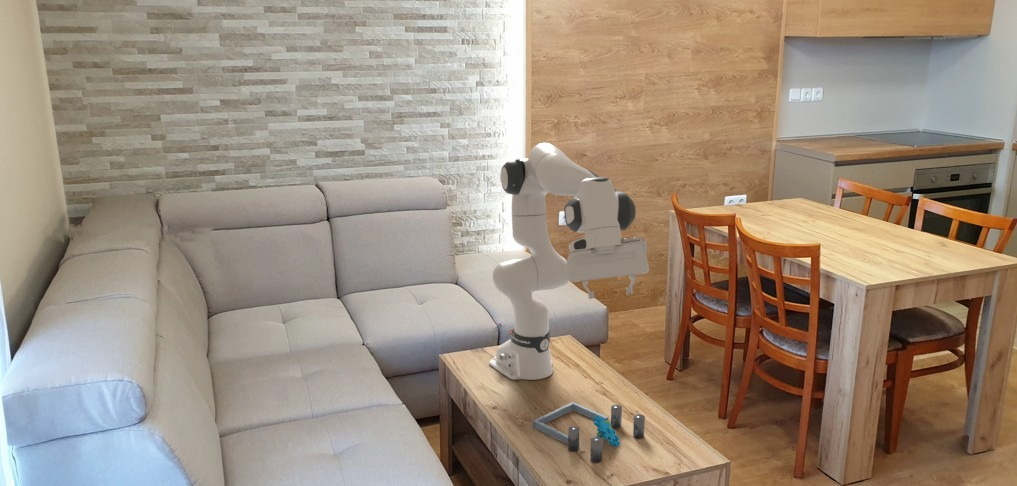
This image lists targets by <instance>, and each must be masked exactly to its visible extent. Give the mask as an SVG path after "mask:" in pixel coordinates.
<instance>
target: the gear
mask: <svg viewBox="0 0 1017 486" xmlns="http://www.w3.org/2000/svg"><path fill="white" fill-rule="evenodd" d="M592 420H593V421H594V422H593V425H594V426H595V427H597V428H596V430H597V433H596V437H601V438H602V439H603V440H605V441H606V440H608V441H607V442H608V444H609V445H610V446H613V447H614V448H617V447H619V446H620V445H621V442H620V437H619V436H618V435H616V434H617V432H616V430H615V429H614V428H612V427H611V421H609V419H608V420H607V421H606V422H605V419H604V418H603V417H602V418H600V416H598V415H597V416H596V417H594V418H593V419H592Z"/></svg>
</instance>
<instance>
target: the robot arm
mask: <svg viewBox="0 0 1017 486" xmlns="http://www.w3.org/2000/svg"><path fill="white" fill-rule="evenodd" d="M500 184H501V187H502V189H503V191H504V192H505V193H506V194H508V195H512V196H511V224H512V238H513V239H514V241H515V243H517V244H518V245H519V246H522V247H524V248H527V249H529V251H530V256H529V257H523V258H520V257H519V258H512V259H508V260H505V261H501V262H499V263H497V264H496V265H495V267H494V268H493V271H492V282H493V285H494V287H495V289H496V290H497V291H498V292H499V293H501V294H503V295H504V296H505V297H506V298H507V299H508V300H509V302H510V303H511V306H512V309H513V318H514V328H513V329H511V330H509V331H508V332H509V333H508V334H509V335H511V337H510V339H508V340H507V341H505V342H503V343H502V344H500V345H499V347H497V350H496V356H494V357H493V358H491V359H490V360H489V363H488V365H489V366H490V367H492V368H493V369H495V370H497V371H498V372H499V373H501V374H502V375H504V376H505V377H506V378H508V379H509V380H514V381H515V380H529V381H530V380H531V381H532V380H534V381H535V380H536V381H537V380H542V379H545V378H547V377H550V376H551V375H552V374H553V373H554V369H553V360H552V356H551V354H552V353H551V347H550V346H551V345H550V341H551V332H550V330H549V327H550V324H549V321H550V319H549V318H550V312H549V309H548V307H547V305H546V304H545V303H544V302H542V301H540V300H537V299H536V298H533V293H535V292H540V291H548V290H549V291H550V290H555V289H558V288H561V287H565V286H566V285H567V284H568V283H569V282H570V283H576V282H581V285H582V287H583V288H584V289H585V291H586V292H587V296H588V299H589V300H591V299H595V292H594V290H592V291H591V290H590V289H589V287H588V285H589V281H593V280H600V279H601V280H602V279H609V278H611V279H612V278H617V277H626V276H628V277H629V280H630V281H631V282H630V284H629V286H626V287H625V289H626V295H633V294H634V289H633V286H634V285H635V282H636V279H637V278H636V277H637V276H636V275H643V274H647V273H648V272H649V271H650V265H649V261H648V257H647V253H648V243H647V241H646V240H645V238H643V237H641V236H634V237H625V238H622V231H626V230H627V229H628V228H629V227H630V226H631V225H632V224H633V222H634V221H635V219H636V215H637V214H636V212H637V211H636V206H635V205H636V204H635V202H634V201H633V200H632V198H631V197H630V196H629V195H628V194H627V193H626V192H625V191H619V190H617V189H615V187H614V185H613V182H612V179H611V178H609V177H605V176H604V177H603V176H599V175H598V174H596V173H595V172H593V171H591V170H589V169H586V168H585V167H583V166H581V165H579V164H578V163H575V162H574V161H573V160H572V159H570V158H569V157H568V156H567V155H566V154H565V153H564V152H563V150H561V149H559V148H558V147H557V146H555V145H553V144H551V143H548V142H542V143H538V144H537V145H535V146H533V148H531V150H530V152H529V154H528V158H522V159H520V158H517V159H513V160H509V161H507V162H505V163H504V164H503V166H502V167H501V170H500ZM548 193H549V194H552V195H553V196H566V197H567V196H570V197H571V196H573V197H571V198H569V200H568V201H567V202H566V204H565V205H564V208H563V210H564V211H563V212H564V213H563V214H564V221H565V225H566V226H567V227H568V229H570V230H571V231H572V232H574V233H579V234H580V233H581V234H582V233H584V236H583V237H579V238H578V239H576V240H574V241H572V242H570V243H569V244H568V250H569V251H570V253H569V254H568V256H567V259H566V258H565V257H563V256H562V255H561V254H559V253H558V252H557V251H556V249H555V248H554V246H553V245H552V243H551V242H552V241H550V236H549V230H548V228H549V227H548V219H547V206H546V205H547V203H546V196H547V194H548Z"/></svg>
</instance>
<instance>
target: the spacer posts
mask: <svg viewBox="0 0 1017 486" xmlns="http://www.w3.org/2000/svg"><path fill="white" fill-rule="evenodd" d="M610 409H611V410H610V425H611V428H612V429H614V430H615V429H617V430H618V429H621V428H622V421H623V420H622V417H623V414H622V413H623V406H622V405H621V404H612V405H611V407H610ZM645 421H646V416H645V415H644V414H640V413H639V414H638V413H637V414H634V415H633V426H632V427H633V428H632V429H633V433H632V436H633V438H634V439H636V440H642V439H644V437H645V424H646V422H645ZM567 430H568V431H567V435H568V444H567V450H568V451H569V452H578V451H580V427H579V426H576V425H570V426H568V428H567ZM603 440H604V438H603V437H602V438H601V437H597V436H592V437H591V438H590V462H592V463H593V464H600V463H602V461H603V443H604V441H603Z"/></svg>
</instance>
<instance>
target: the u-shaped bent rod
mask: <svg viewBox="0 0 1017 486" xmlns="http://www.w3.org/2000/svg"><path fill="white" fill-rule="evenodd" d="M572 411H574V412H576V413H579V414H581V415H582V416H583V415H584V416H585V417H587V418H590V419H592V420H593V418H594V417H596V416H597V415H598V416H600V418H602V417H603V418H604V419H605V422H606V421H607V420H608V421H609V417H608V416H606V415H605V414H602V413H600V412H597V411H595V410H593V409H590V408H588V407H586V406H583V405H582V404H579V403H577V402H574V401H572V402H569V403H567V404H565V405H563V406H561V407H558V408H557V409H555V410H553V411H551V412H548V413H546V414H544V415H542V416H540V417H538V418H536V419H534V420H532V428H534V429H536V430H538V431H540V432H542V433H544V434H545V435H548V436H550V437H552V438H554V439H555V440H558V441H560V442H561V443H563V444H565V445H568V434H566V433H564V432H562V431H560V430H558V429H555V428H554V427H552V426H550V425H547V423H549V422H551V421H553V420H556V419H557V418H560V417H562V416H564V415H566V414H568V413H570V412H572Z"/></svg>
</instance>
